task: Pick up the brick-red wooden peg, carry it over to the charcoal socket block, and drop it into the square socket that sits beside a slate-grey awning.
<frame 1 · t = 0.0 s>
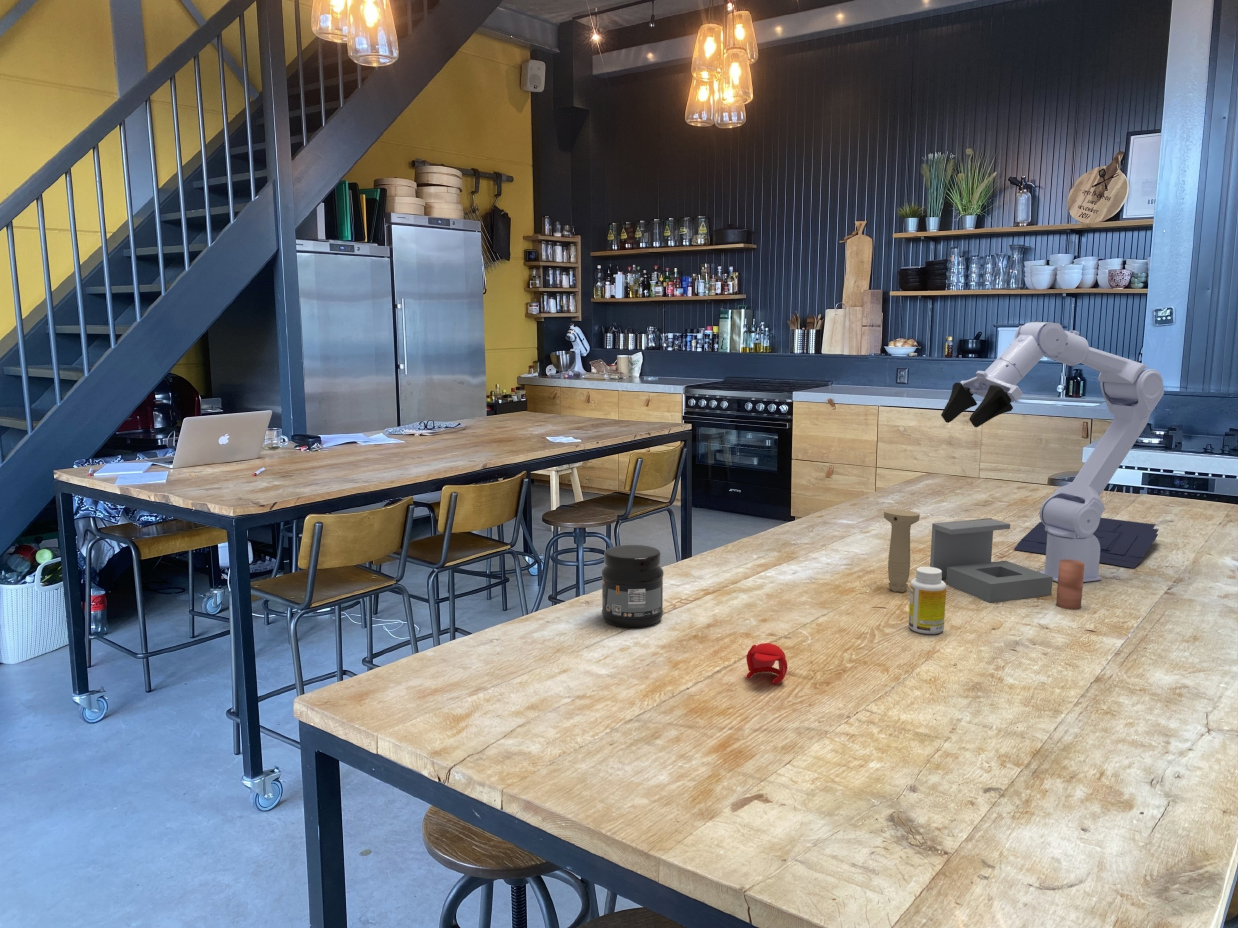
hand: (958, 421, 166), 32 cm above the table, fingers open, 7 cm apart
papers: (1088, 547, 205), on the table
supplement container: (632, 620, 156), on the table
peg: (1068, 605, 163), on the table
handle: (897, 591, 172), on the table
socket stand: (997, 589, 172), on the table
supplement bottle: (925, 630, 151), on the table
red toy helmet: (765, 681, 130), on the table
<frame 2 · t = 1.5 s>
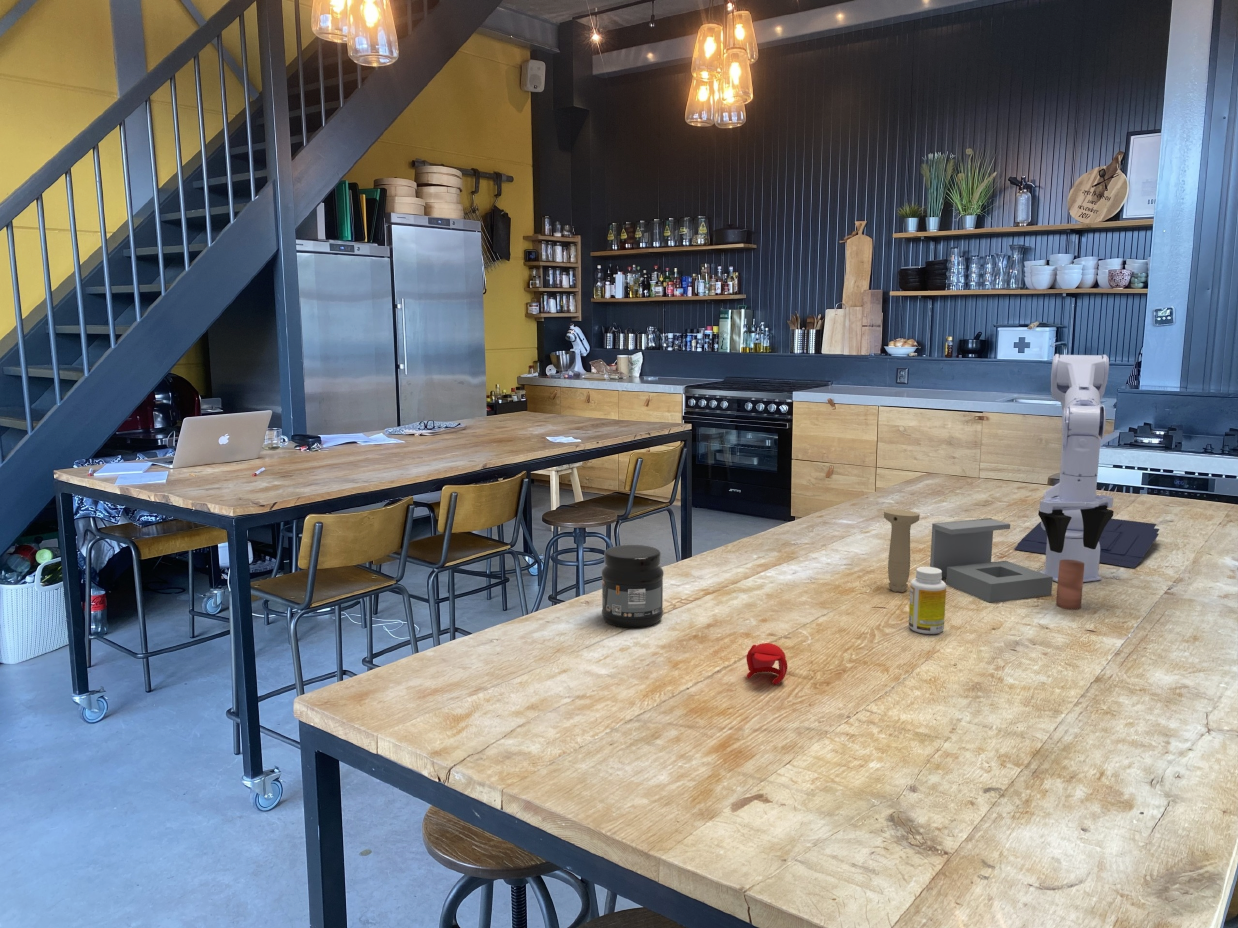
hand: (1072, 549, 161), 10 cm above the table, fingers open, 7 cm apart
nothing on the table moved.
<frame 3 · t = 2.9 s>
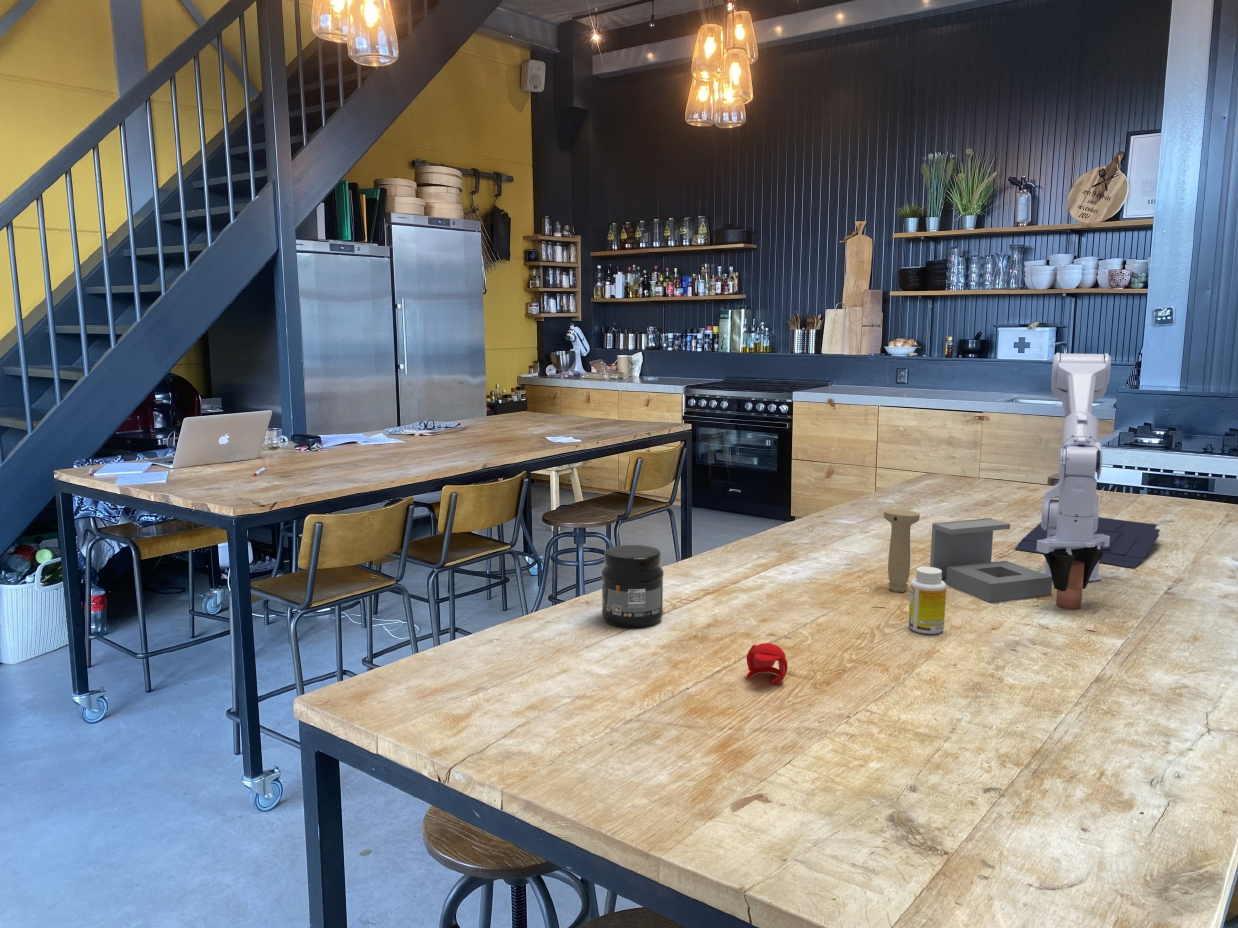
hand: (1069, 588, 162), 3 cm above the table, fingers closed on peg, 4 cm apart
peg: (1068, 605, 163), on the table, touching gripper
everything else where it was.
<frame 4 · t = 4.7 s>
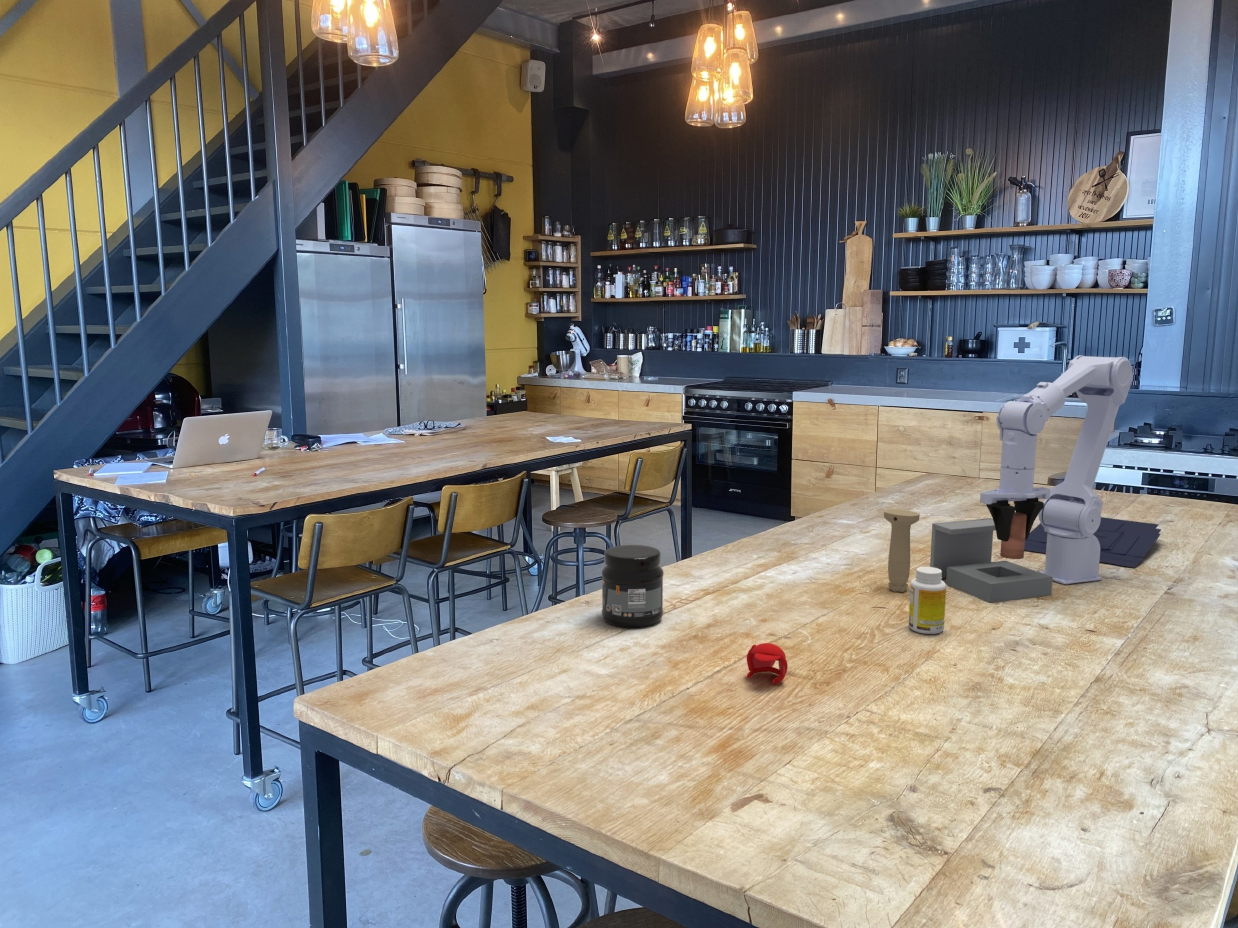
hand: (1012, 539, 169), 10 cm above the table, fingers closed on peg, 4 cm apart
peg: (1011, 556, 170), point 7 cm above the table, touching gripper
everything else where it was.
when the fingers open (5 cm above the table, at t = 6.7 s): peg drops 1 cm, resting in socket stand.
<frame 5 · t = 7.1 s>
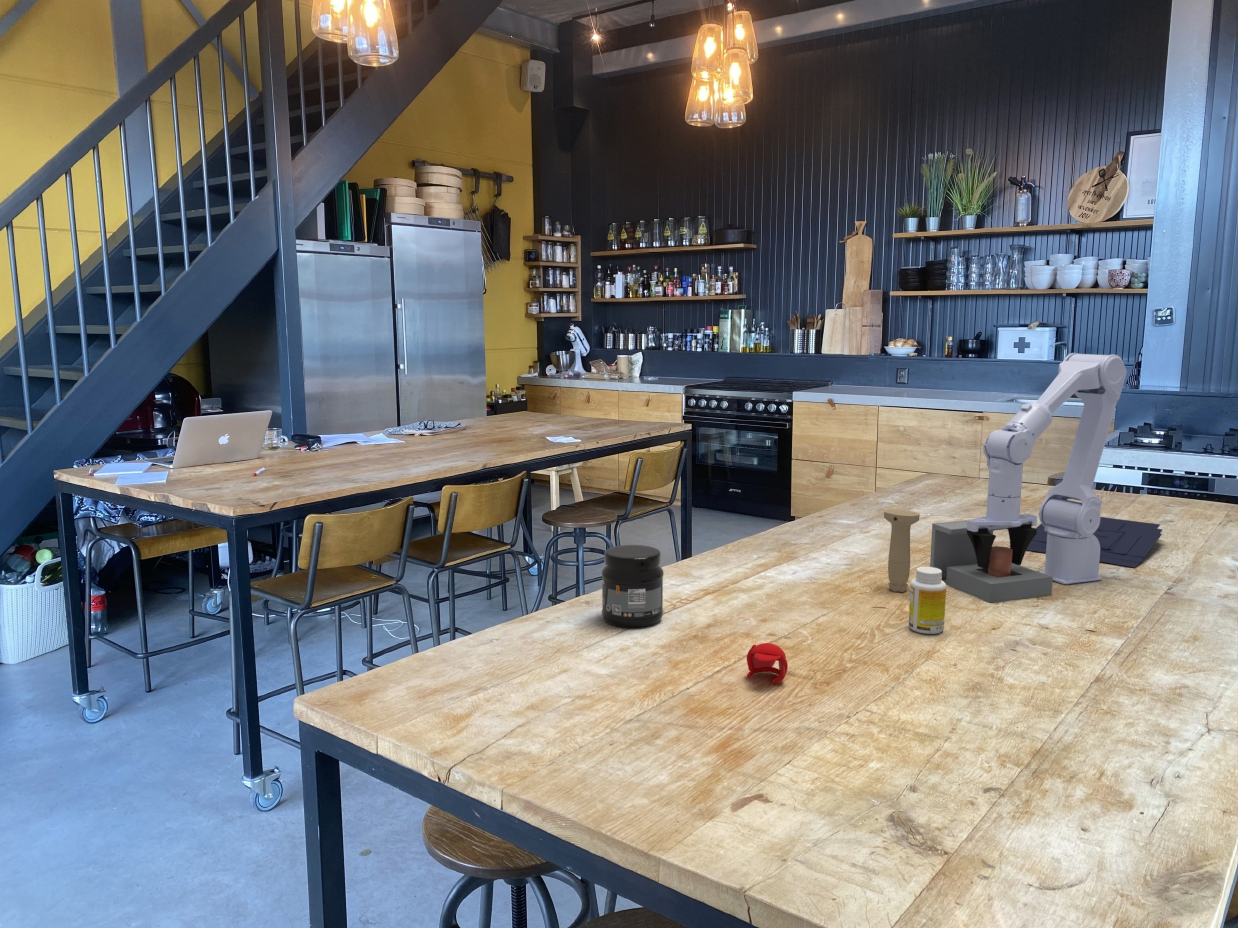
hand: (999, 565, 172), 5 cm above the table, fingers open, 7 cm apart
peg: (998, 589, 172), resting in socket stand
everything else where it was.
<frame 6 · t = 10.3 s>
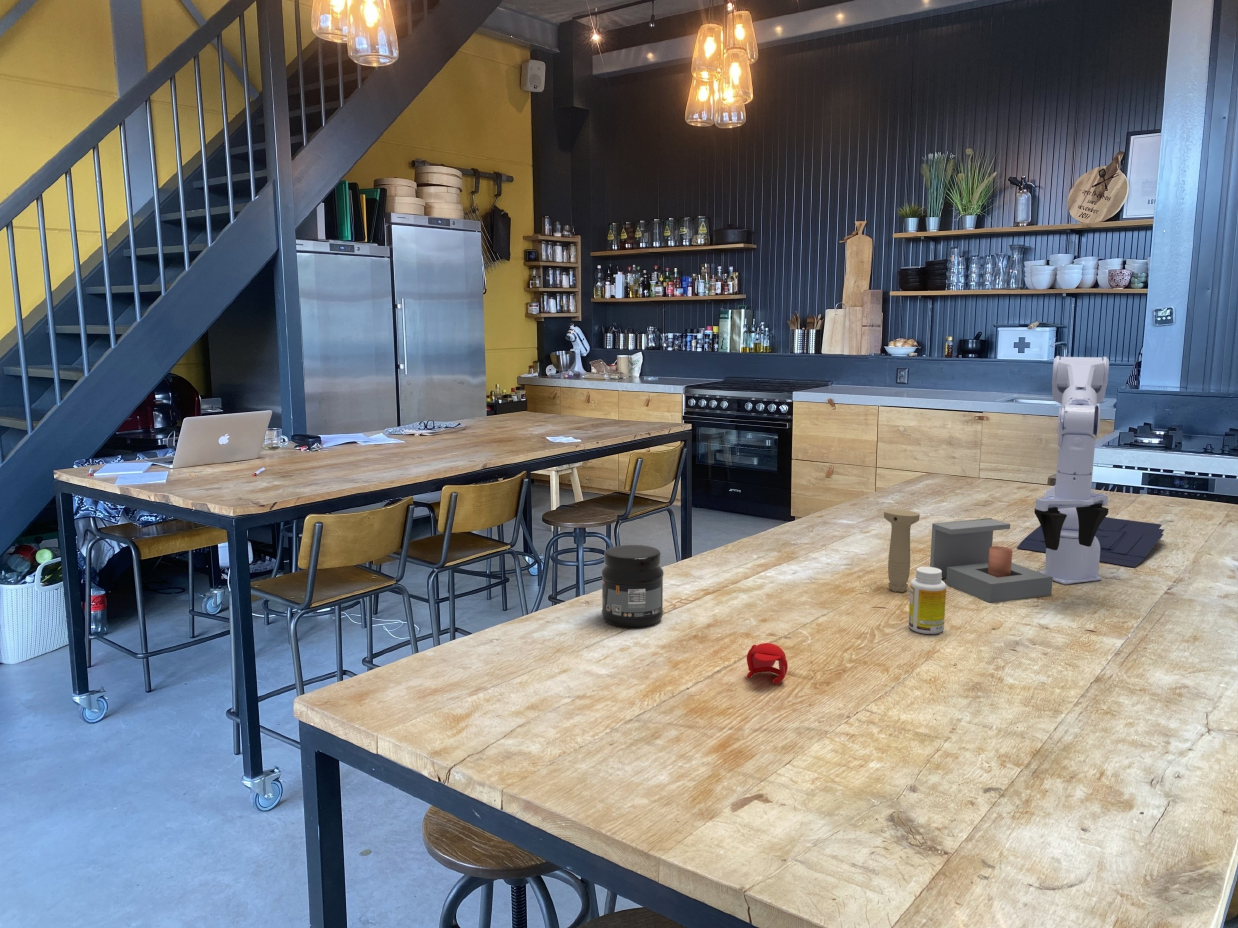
hand: (1068, 547, 163), 10 cm above the table, fingers open, 7 cm apart
at the end: peg 0.1 cm off-centre on the socket stand, point 0.0 cm above the socket stand's base; peg tilted 0°; the gripper is holding nothing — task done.
